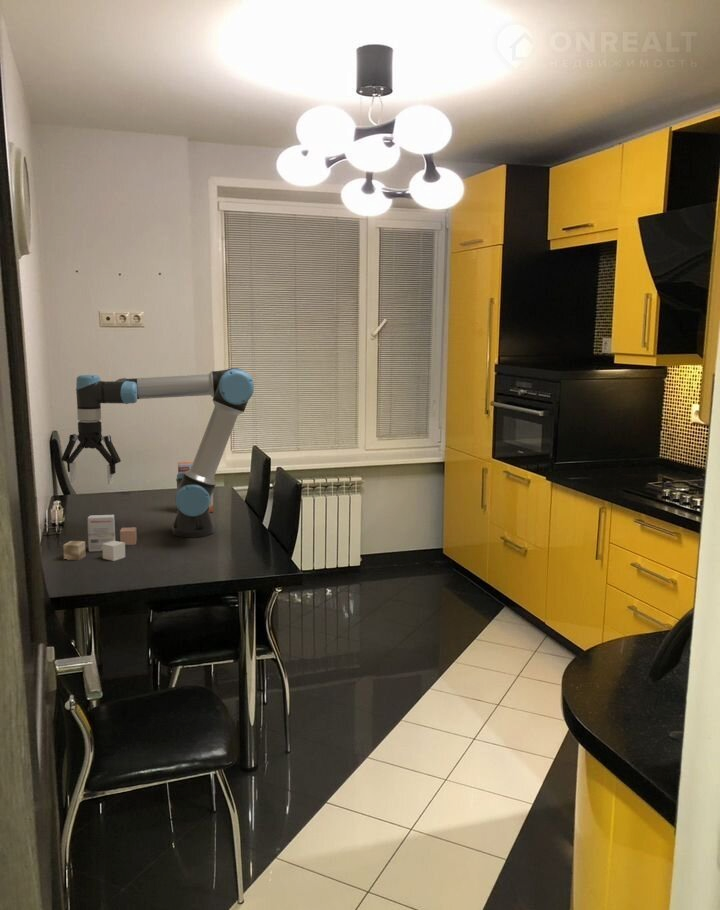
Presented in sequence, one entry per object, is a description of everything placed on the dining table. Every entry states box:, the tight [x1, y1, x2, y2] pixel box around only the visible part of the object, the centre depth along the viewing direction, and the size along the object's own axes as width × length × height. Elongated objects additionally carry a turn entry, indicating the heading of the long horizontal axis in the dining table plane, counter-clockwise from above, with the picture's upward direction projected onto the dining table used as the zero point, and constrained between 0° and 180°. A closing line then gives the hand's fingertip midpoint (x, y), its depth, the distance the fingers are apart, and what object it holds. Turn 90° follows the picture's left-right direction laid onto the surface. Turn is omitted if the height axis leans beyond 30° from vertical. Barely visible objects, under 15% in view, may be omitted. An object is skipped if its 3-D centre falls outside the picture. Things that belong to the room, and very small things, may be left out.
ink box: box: [87, 514, 116, 552], centre depth 251 cm, size 8×5×12 cm, turn 105°
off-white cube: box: [102, 540, 126, 562], centre depth 242 cm, size 5×5×5 cm
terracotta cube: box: [119, 526, 138, 546], centre depth 260 cm, size 5×5×5 cm
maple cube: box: [62, 540, 87, 561], centre depth 241 cm, size 5×5×5 cm
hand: (91, 482), depth 252 cm, fingers open, 13 cm apart
